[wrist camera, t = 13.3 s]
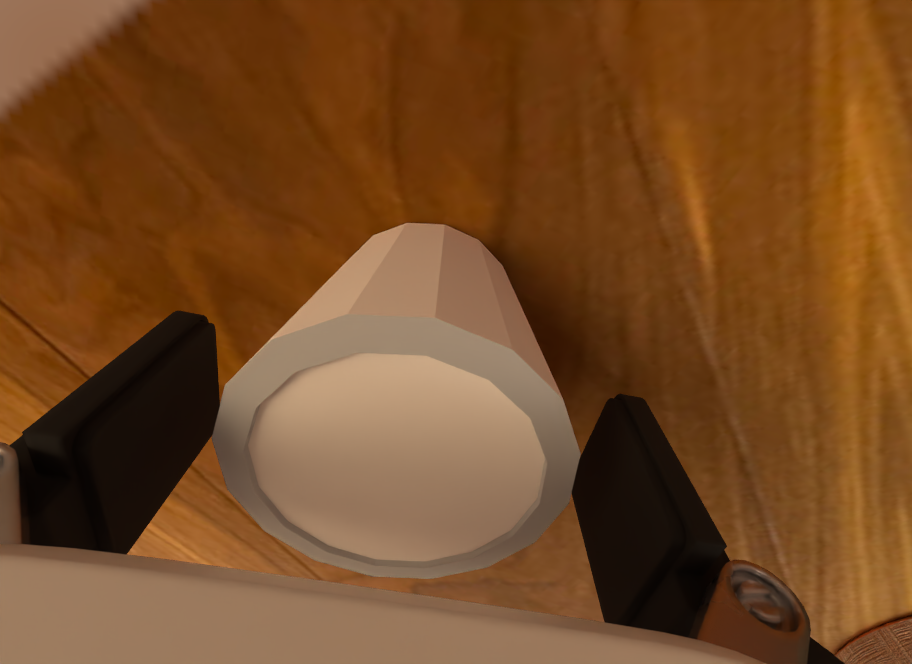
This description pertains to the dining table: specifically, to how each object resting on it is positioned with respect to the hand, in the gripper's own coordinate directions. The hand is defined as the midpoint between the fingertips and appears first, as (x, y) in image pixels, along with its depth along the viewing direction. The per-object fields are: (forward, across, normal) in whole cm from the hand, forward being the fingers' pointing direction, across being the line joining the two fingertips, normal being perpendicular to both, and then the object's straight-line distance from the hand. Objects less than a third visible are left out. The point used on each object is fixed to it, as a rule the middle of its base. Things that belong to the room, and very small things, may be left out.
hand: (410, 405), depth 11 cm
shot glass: (+5, 0, 0) cm, 5 cm away
